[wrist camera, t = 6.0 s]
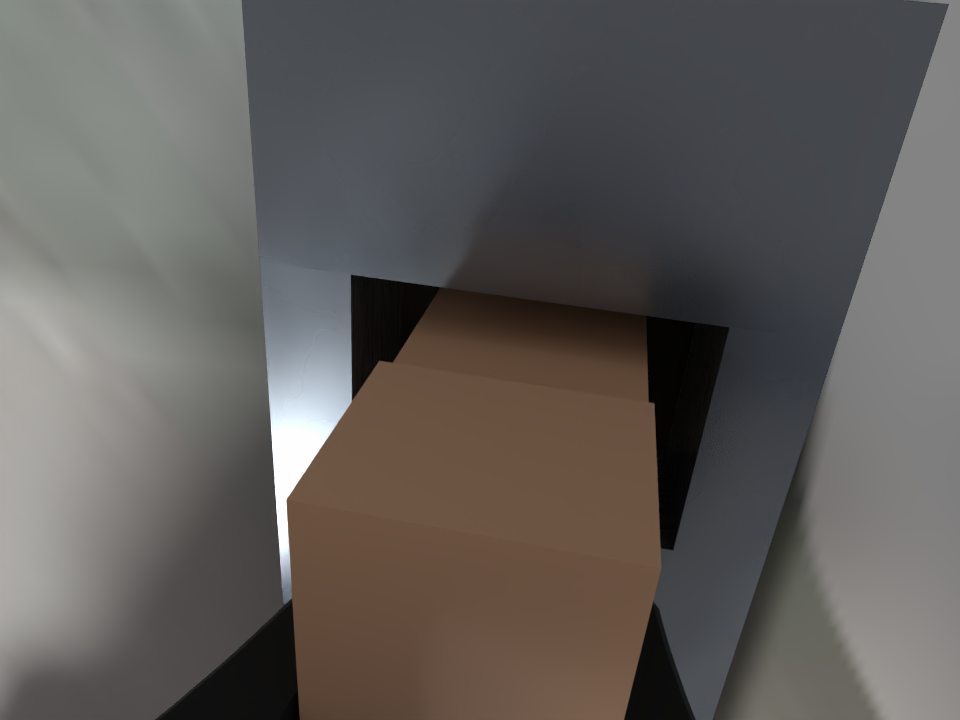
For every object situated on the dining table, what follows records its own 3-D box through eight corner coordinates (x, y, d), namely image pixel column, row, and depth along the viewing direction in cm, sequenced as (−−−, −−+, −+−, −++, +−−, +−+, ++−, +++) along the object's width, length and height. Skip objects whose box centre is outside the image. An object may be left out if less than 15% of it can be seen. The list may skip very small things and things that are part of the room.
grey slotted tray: (643, 798, 17) (645, 923, 14) (341, 731, 17) (299, 839, 15) (872, -2, 9) (947, 4, 7) (325, -47, 10) (237, -55, 8)
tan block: (574, 683, 14) (543, 1045, 9) (422, 652, 15) (316, 984, 10) (650, 296, 10) (661, 568, 6) (441, 267, 11) (285, 499, 6)
